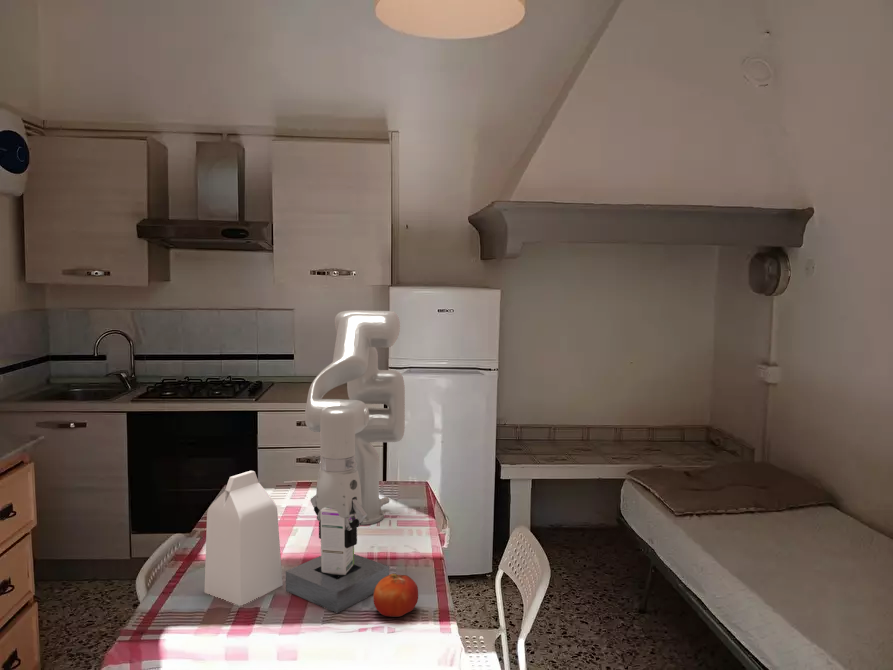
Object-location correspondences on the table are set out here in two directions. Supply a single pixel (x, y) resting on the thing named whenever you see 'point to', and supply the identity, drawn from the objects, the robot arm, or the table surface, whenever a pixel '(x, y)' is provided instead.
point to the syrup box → (334, 543)
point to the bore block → (335, 583)
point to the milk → (242, 542)
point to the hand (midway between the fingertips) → (337, 540)
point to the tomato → (395, 595)
